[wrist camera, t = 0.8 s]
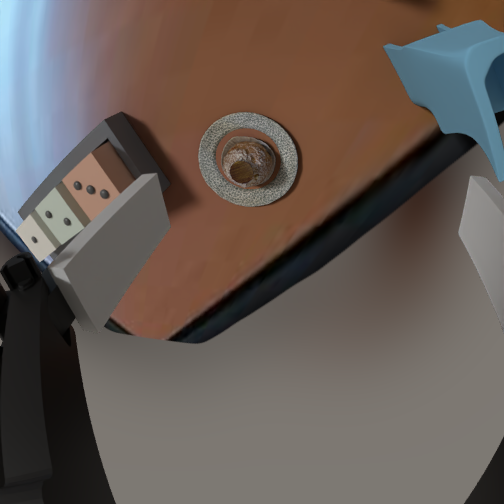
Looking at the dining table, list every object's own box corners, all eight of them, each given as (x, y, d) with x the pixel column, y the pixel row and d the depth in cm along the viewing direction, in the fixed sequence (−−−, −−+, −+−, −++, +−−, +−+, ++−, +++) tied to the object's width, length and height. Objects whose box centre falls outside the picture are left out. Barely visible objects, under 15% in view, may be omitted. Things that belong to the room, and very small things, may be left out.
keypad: (31, 200, 48) (17, 212, 45) (121, 111, 36) (104, 119, 33) (68, 250, 54) (56, 263, 51) (170, 184, 41) (158, 197, 38)
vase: (415, 110, 30) (499, 184, 14) (382, 46, 26) (455, 49, 11) (470, 87, 26) (584, 145, 10) (441, 23, 23) (553, 20, 7)
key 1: (29, 218, 46) (14, 231, 43) (45, 201, 43) (29, 214, 40) (52, 248, 49) (39, 262, 46) (70, 234, 46) (55, 249, 43)
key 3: (79, 167, 38) (60, 180, 35) (109, 140, 35) (89, 152, 32) (107, 207, 41) (91, 223, 38) (140, 185, 38) (123, 200, 35)
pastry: (269, 217, 42) (264, 237, 39) (187, 175, 41) (174, 190, 37) (317, 142, 35) (316, 155, 31) (223, 93, 34) (211, 100, 30)
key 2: (50, 195, 42) (33, 209, 39) (72, 174, 39) (53, 187, 36) (76, 230, 45) (61, 245, 42) (99, 212, 42) (83, 228, 39)
